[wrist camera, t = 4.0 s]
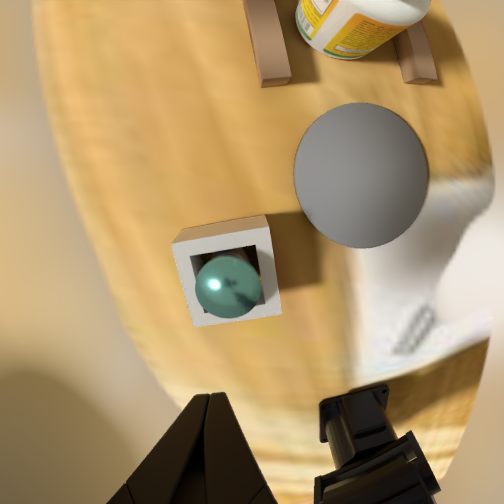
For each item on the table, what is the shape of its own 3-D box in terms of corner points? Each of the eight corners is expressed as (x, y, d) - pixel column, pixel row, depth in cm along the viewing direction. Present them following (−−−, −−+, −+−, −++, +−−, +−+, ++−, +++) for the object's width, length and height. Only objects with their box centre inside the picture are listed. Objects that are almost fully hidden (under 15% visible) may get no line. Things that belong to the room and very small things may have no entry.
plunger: (260, 283, 18) (265, 313, 15) (210, 292, 18) (203, 322, 15) (252, 234, 17) (255, 254, 14) (198, 243, 17) (188, 265, 14)
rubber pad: (424, 234, 18) (429, 236, 18) (303, 256, 18) (305, 259, 18) (414, 104, 15) (418, 103, 15) (282, 109, 15) (283, 107, 15)
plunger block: (276, 290, 19) (282, 314, 16) (200, 302, 19) (194, 327, 16) (264, 214, 17) (269, 226, 15) (182, 229, 17) (171, 243, 15)
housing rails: (421, 84, 15) (446, 76, 12) (260, 87, 15) (264, 74, 12) (382, -34, 11) (398, -52, 9) (233, -40, 12) (232, -65, 9)
